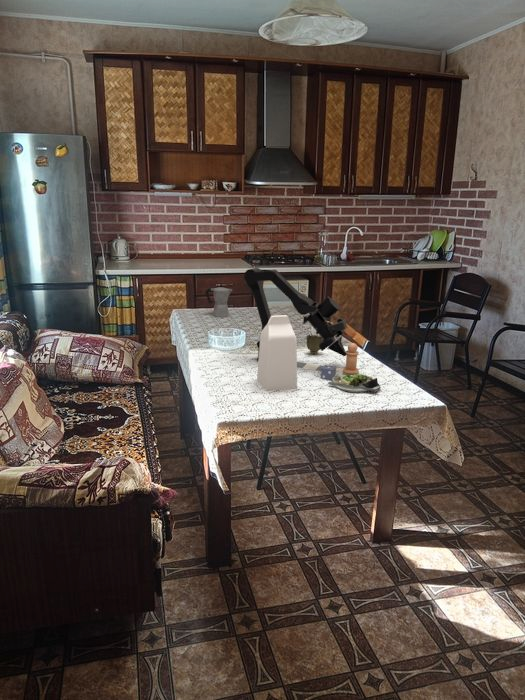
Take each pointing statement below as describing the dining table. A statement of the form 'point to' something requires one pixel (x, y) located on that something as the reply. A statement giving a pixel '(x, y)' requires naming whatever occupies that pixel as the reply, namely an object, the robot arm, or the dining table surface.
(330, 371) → the die
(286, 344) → the milk
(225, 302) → the coffeepot
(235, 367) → the dining table surface
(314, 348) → the cup
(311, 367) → the board
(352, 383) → the salad plate
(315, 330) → the lidded jar
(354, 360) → the pawn
